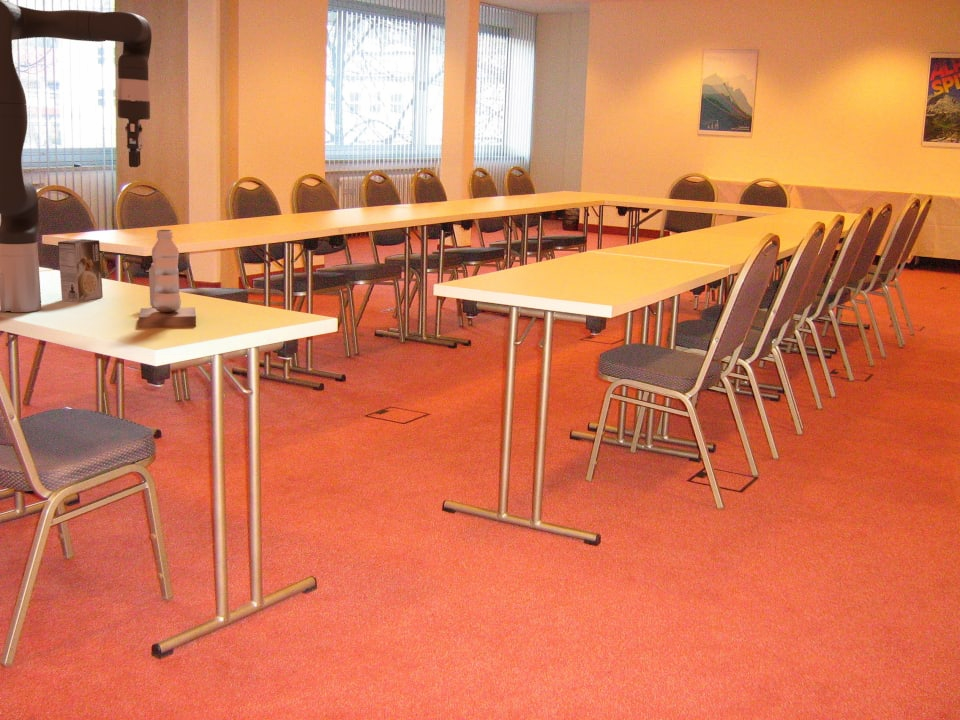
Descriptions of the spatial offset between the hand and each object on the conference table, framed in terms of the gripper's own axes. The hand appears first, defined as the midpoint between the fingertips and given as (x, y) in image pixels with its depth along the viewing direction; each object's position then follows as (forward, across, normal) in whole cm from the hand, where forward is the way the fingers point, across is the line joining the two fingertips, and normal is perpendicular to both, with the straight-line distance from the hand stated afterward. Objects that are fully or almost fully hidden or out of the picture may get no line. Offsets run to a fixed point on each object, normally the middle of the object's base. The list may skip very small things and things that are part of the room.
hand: (134, 166), depth 248 cm
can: (+37, -9, +7) cm, 39 cm away
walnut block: (+37, +13, +8) cm, 40 cm away
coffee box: (+38, -25, -16) cm, 48 cm away
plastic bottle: (+34, +13, +8) cm, 38 cm away
